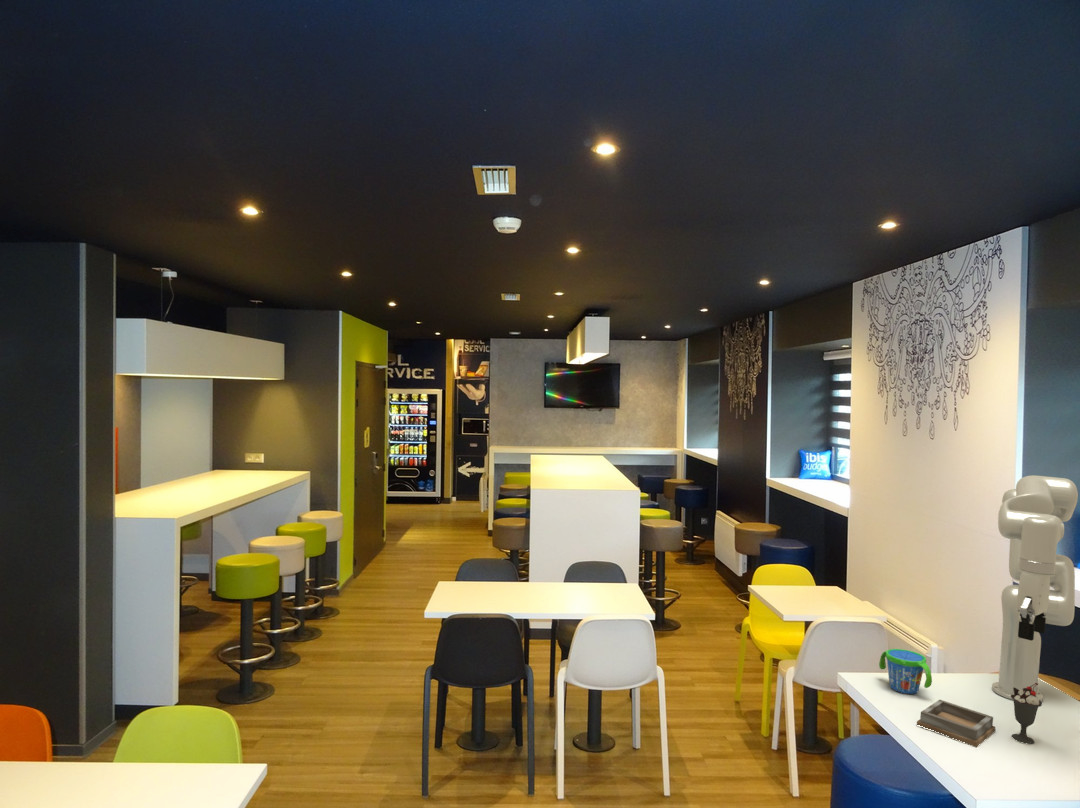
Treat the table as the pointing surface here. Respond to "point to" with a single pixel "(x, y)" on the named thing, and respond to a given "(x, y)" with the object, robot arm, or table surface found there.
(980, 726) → the stand
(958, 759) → the table surface
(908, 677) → the snack cup
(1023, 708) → the sundae
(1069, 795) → the table surface
